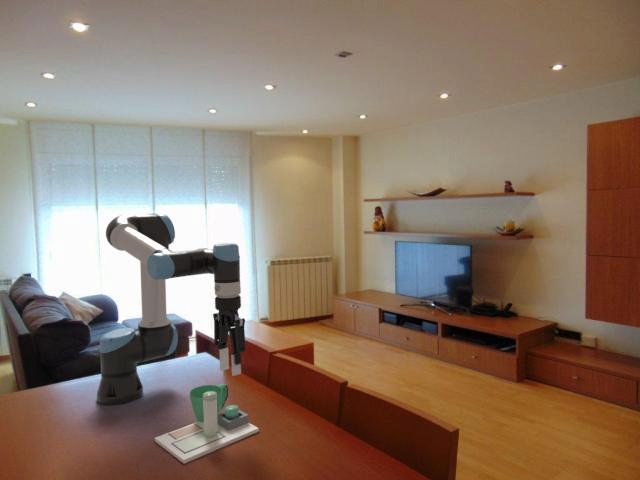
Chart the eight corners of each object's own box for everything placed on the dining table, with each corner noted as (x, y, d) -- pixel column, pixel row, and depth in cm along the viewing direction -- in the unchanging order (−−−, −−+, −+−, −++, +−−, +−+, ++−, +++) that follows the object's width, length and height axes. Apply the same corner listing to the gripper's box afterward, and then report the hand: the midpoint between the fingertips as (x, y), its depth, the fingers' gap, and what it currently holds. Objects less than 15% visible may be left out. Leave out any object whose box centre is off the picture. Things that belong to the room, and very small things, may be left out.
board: (154, 441, 132) (154, 429, 132) (226, 414, 149) (226, 403, 149) (183, 463, 120) (183, 450, 120) (258, 431, 137) (258, 419, 137)
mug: (208, 432, 138) (207, 399, 137) (183, 425, 142) (182, 394, 142) (238, 412, 151) (238, 382, 150) (215, 407, 155) (214, 378, 155)
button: (222, 417, 140) (222, 408, 140) (233, 413, 143) (233, 404, 143) (230, 421, 137) (229, 412, 137) (241, 417, 140) (241, 407, 140)
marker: (201, 435, 133) (200, 394, 132) (213, 430, 136) (212, 390, 135) (208, 439, 130) (207, 397, 130) (220, 434, 133) (219, 393, 132)
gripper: (200, 293, 142) (203, 368, 143) (235, 301, 129) (237, 383, 130) (221, 290, 147) (224, 362, 149) (256, 297, 134) (259, 376, 135)
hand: (230, 371), depth 139 cm, fingers open, 6 cm apart
